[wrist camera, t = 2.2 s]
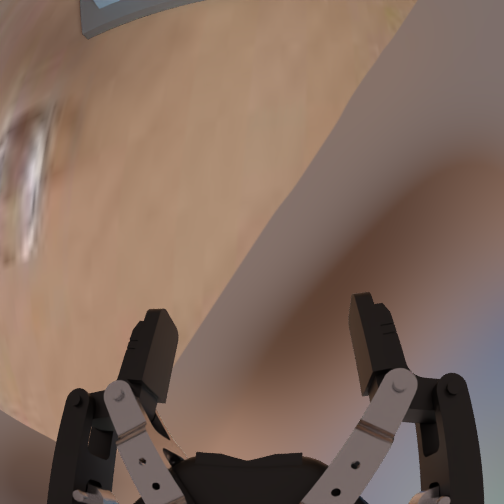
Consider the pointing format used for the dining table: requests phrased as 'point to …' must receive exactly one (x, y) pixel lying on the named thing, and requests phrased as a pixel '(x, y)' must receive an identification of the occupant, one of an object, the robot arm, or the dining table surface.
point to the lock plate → (120, 13)
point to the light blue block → (104, 2)
